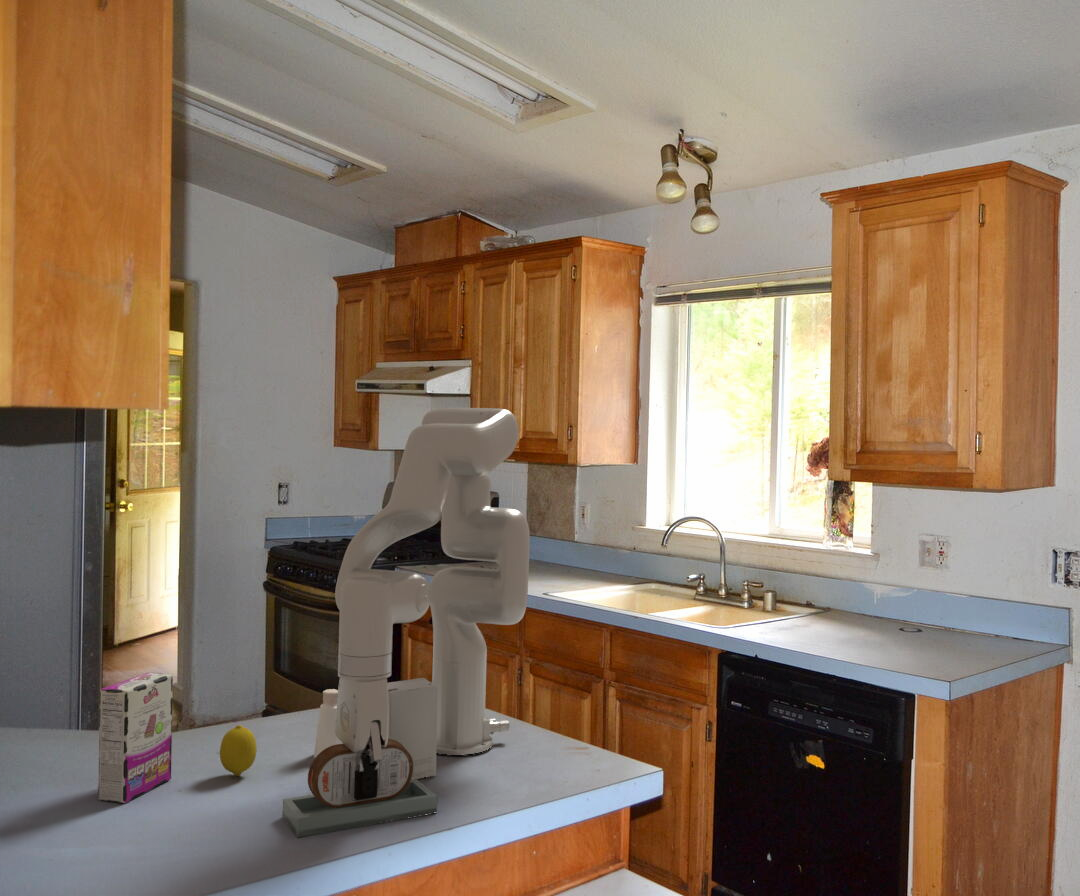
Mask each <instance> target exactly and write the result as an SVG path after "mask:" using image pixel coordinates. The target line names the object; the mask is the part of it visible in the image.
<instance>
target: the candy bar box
mask: <svg viewBox="0 0 1080 896" xmlns="http://www.w3.org/2000/svg"><path fill="white" fill-rule="evenodd" d="M173 676H174V674H169V673H162V672H160V673H159V672H146V673H143V674H140V675H137V676H135V677H132V678H129V679H128V678H127V679H126V680H123V681H119V682H117V683H114V684H112V685H108V686H106V687H103V688H100V689H99V723H98V725H99V731H98V735H99V743H98V744H99V745H98V787H97V788H98V789H97V790H98V793H97V794H98V796H97V799H98V801H101V800H104V801H103V802H106V801H111V802H110V803H116V802H117V803H118V804H127V803H129V802H131V801H133V800H135V799H137V798H138V797H141V796H143V795H144V794H146V793H148V792H150V791H151V790H154V789H155V788H157V787H159V786H161V785H162V784H165V783H166V782H168V781H170V780H171V779H172V750H173V749H172V748H173V747H172V745H173V744H172V743H173V741H172V740H173V739H172V737H173V727H172V726H173V688H174V687H173V684H174V683H173V679H174V678H173Z"/></svg>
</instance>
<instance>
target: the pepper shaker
mask: <svg viewBox="0 0 1080 896" xmlns="http://www.w3.org/2000/svg"><path fill="white" fill-rule="evenodd" d="M337 696H338V689H335V688H332V689H331V688H329V689H328V688H327V689H325V690H323V691H322V703H321V704H320V706H319V712H318V713H319V714H318V723H317V729H316V736H315V737H316V738H315V745H314V746H315V747H314V750H313V752H314V753H313V758H314V759H315V758H316V756H317V755H318V754H319V753H320V752H322V751H323V750H324V749H326V748H328V747H330V746H332V745H336V744H343V743H342V742H341V741H340V740H339V739H338V738H337V737H336V734H335V723H336V709H337Z"/></svg>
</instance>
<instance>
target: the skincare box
mask: <svg viewBox="0 0 1080 896" xmlns="http://www.w3.org/2000/svg"><path fill="white" fill-rule="evenodd" d="M387 685H388V708H389V729H388V739H393V740H396V741H398V742H399V743H401V744H402V745H403V746H404V747H405V749H406V750H407V751H408V752H409V753H410V755H411V757H412V760H413V774H412V778H411V780H412V779H417V780H419V779H425V778H424V777H426V778H430V776H431V777H435V776H437V754H436V742H437V686H436V685H435V684H433V683H432V681H429V680H428V679H426V678H425V677H420V678H413V679H406V680H397V681H391V682H387Z"/></svg>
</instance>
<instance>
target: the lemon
mask: <svg viewBox="0 0 1080 896" xmlns="http://www.w3.org/2000/svg"><path fill="white" fill-rule="evenodd" d="M257 749H258V748H257V741H256V738H255V735H254V733H253V732H252V731H251V730H250V729H249V728H246V727H245V726H242V725H241V724H237V725H236V726H235V727H233V728H231V729H230V730H228V731H227V732H226V733H225V734H224V736H223V738H222V739H221V742H220V748H219V759H220V763H221V765H222V767H223V768H224V769H225V770H226V771H227V772H229V773H232V774H233V775H234V776H235V777H239V776H241V775H242V774H243V773H244V772H245V771H248V770H249V769H250V768H251V767H252V766H253V764H254V762H255V760H256V756H257Z"/></svg>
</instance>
